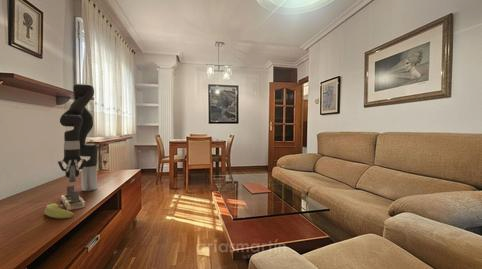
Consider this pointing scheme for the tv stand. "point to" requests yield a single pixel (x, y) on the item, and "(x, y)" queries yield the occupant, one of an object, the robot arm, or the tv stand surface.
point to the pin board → (72, 199)
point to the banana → (57, 211)
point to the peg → (72, 173)
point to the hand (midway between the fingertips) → (72, 176)
